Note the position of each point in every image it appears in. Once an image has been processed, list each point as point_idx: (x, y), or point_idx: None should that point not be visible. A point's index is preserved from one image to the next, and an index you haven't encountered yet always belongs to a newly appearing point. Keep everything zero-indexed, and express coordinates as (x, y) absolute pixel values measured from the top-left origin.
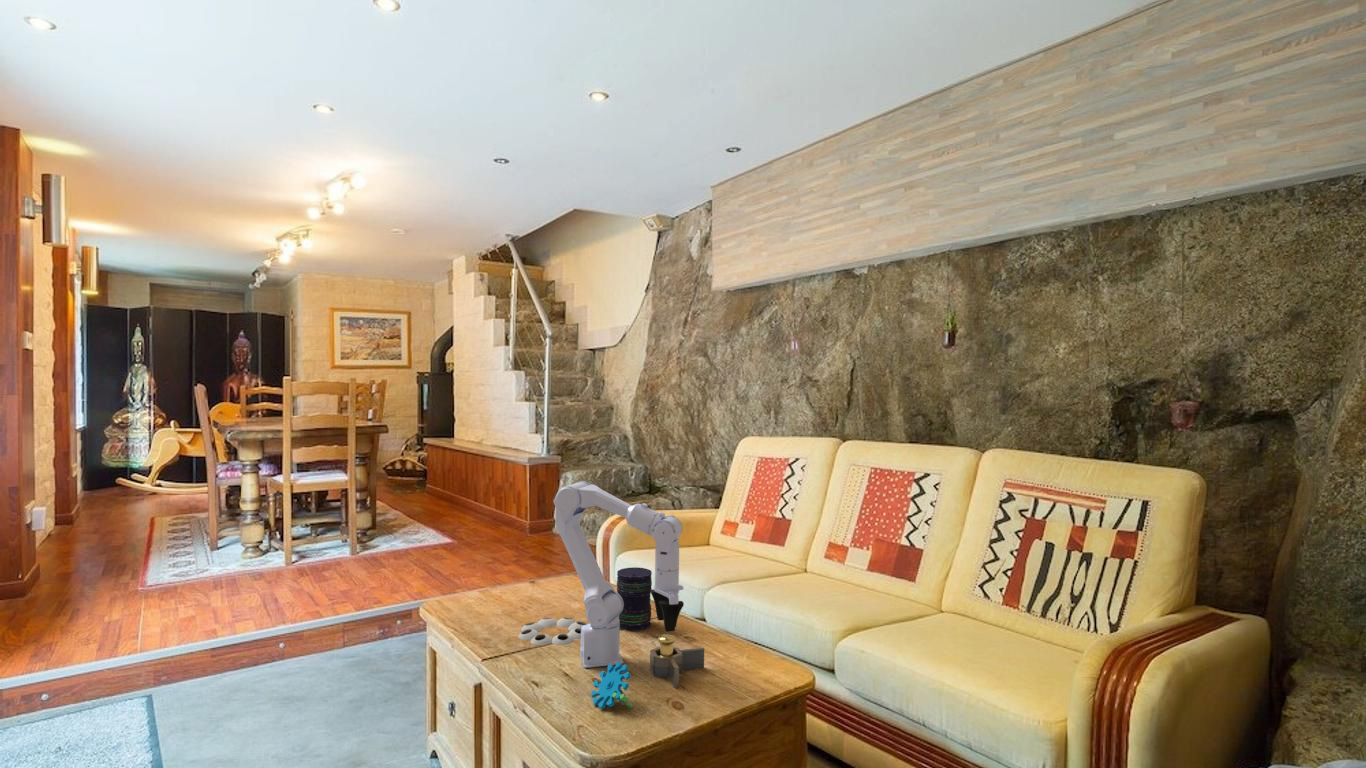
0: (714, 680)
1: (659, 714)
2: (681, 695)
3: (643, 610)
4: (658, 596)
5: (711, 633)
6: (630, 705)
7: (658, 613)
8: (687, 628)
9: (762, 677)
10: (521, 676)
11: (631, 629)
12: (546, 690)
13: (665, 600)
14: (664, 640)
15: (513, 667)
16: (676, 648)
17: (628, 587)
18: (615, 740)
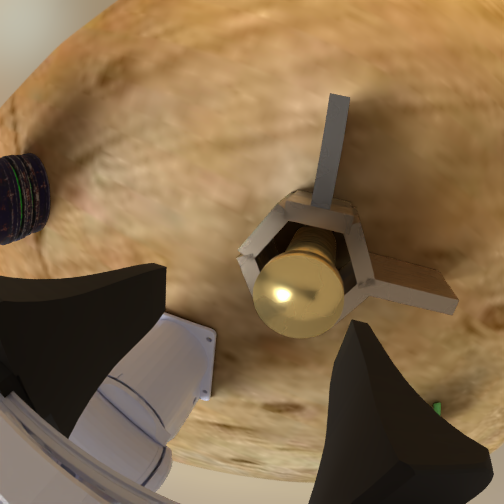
0: (449, 136)
1: (496, 366)
2: (474, 286)
3: (8, 191)
4: (66, 397)
5: (112, 11)
6: (440, 408)
7: (142, 332)
8: (67, 68)
9: (468, 7)
10: (210, 459)
11: (46, 212)
12: (277, 463)
13: (78, 335)
14: (328, 328)
15: (174, 449)
16: (287, 211)
17: None
18: (488, 437)
